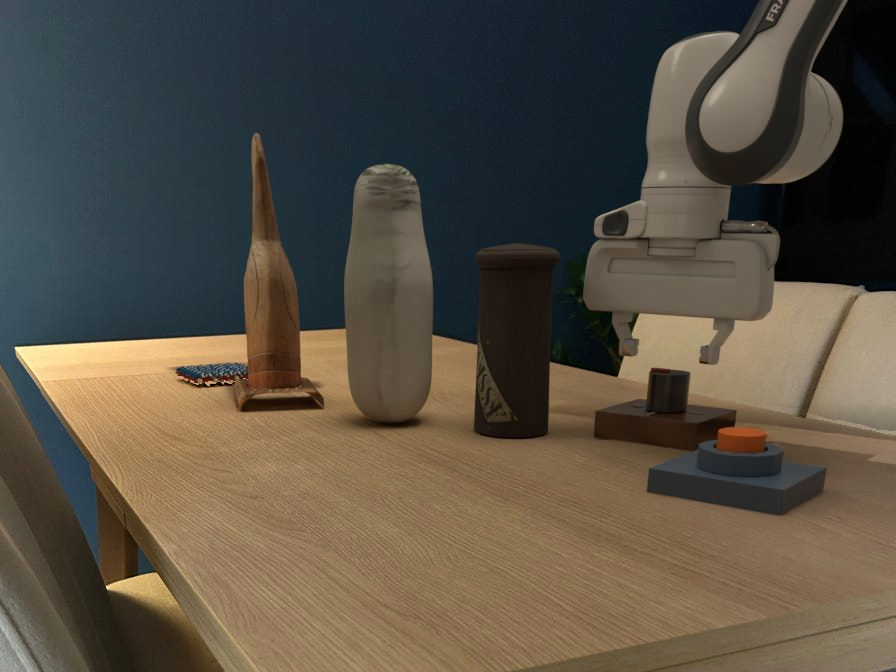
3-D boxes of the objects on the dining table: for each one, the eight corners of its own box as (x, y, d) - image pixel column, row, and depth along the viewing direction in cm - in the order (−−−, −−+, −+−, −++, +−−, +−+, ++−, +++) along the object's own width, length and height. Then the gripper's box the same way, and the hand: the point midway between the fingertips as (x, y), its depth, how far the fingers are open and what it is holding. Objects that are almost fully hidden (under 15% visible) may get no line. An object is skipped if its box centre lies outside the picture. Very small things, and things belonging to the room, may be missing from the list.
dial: (693, 409, 107) (697, 368, 105) (675, 414, 104) (679, 373, 102) (657, 404, 110) (660, 365, 108) (638, 410, 106) (641, 369, 105)
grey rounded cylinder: (442, 426, 114) (443, 161, 103) (356, 431, 112) (348, 160, 101) (421, 412, 123) (420, 166, 112) (341, 416, 120) (332, 166, 109)
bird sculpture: (312, 394, 136) (300, 138, 123) (327, 408, 125) (316, 130, 113) (231, 398, 133) (211, 136, 120) (240, 413, 123) (219, 128, 110)
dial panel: (733, 437, 108) (737, 408, 107) (693, 452, 101) (697, 421, 100) (636, 424, 115) (638, 397, 114) (593, 437, 108) (595, 408, 107)
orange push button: (771, 451, 85) (774, 430, 84) (753, 458, 82) (755, 438, 81) (727, 444, 87) (729, 425, 86) (708, 452, 84) (710, 432, 83)
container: (478, 423, 116) (482, 242, 108) (553, 425, 114) (563, 242, 106) (466, 437, 108) (470, 244, 100) (547, 440, 106) (557, 244, 99)
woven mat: (264, 382, 146) (263, 369, 145) (196, 388, 141) (195, 374, 140) (239, 374, 154) (238, 361, 154) (174, 379, 149) (173, 366, 149)
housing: (822, 491, 86) (830, 447, 84) (780, 516, 79) (787, 467, 77) (696, 471, 93) (700, 430, 91) (646, 492, 86) (650, 447, 84)
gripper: (794, 221, 95) (773, 366, 101) (610, 219, 107) (600, 349, 113) (770, 220, 91) (749, 372, 96) (581, 219, 103) (571, 354, 108)
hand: (667, 359), depth 105 cm, fingers open, 8 cm apart
